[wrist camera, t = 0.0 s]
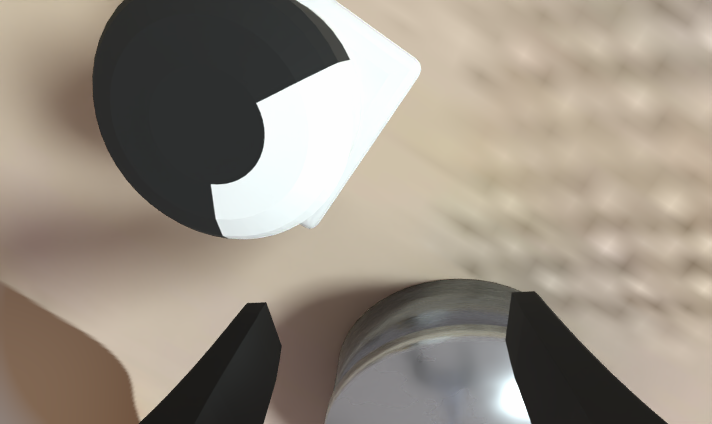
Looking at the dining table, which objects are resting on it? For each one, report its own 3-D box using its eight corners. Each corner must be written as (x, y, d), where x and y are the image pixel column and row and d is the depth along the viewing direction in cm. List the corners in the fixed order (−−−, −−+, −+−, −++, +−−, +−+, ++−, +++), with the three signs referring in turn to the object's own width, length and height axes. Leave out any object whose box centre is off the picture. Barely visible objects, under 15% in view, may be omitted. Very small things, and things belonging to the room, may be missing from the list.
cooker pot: (296, 390, 28) (282, 442, 24) (434, 231, 22) (443, 269, 18) (511, 506, 31) (527, 569, 27) (683, 396, 25) (734, 456, 21)
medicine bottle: (221, 103, 20) (8, 170, 9) (285, -33, 17) (95, -181, 6) (336, 177, 21) (275, 319, 10) (413, 60, 18) (449, 76, 7)
